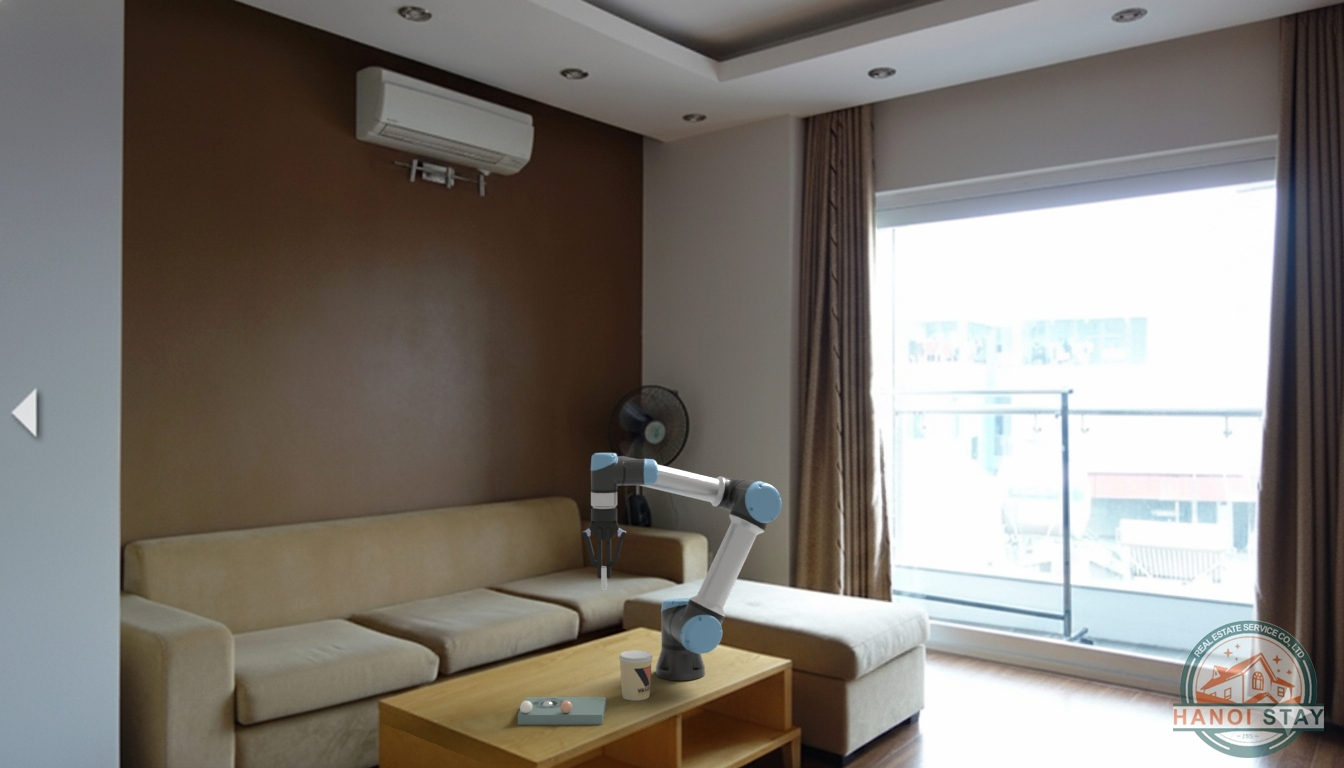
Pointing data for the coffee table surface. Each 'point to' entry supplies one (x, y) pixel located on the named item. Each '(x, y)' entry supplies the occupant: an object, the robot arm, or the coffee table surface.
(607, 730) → the coffee table surface
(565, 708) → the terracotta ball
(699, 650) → the robot arm
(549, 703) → the steel ball
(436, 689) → the coffee table surface
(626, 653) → the coffee cup
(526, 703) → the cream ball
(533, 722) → the board
